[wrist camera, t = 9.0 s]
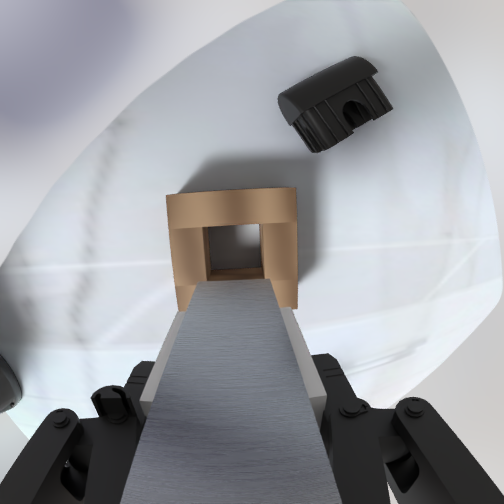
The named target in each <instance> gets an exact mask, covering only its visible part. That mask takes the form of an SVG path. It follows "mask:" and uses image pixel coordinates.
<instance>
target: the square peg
mask: <svg viewBox="0 0 504 504" xmlns="http://www.w3.org/2000/svg"><path fill="white" fill-rule="evenodd" d="M120 504H342V501H341V498H340V494H339V491H338V488H337V485H336V482H335V478H334V475H333V472H332V469H331V466H330V462H329V459H328V456H327V453H326V450H325V447H324V443H323V440H322V437H321V434H320V431H319V428H318V425H317V421H316V418H315V415H314V412H313V409H312V406H311V403H310V400H309V396H308V393H307V390H306V387H305V384H304V381H303V378H302V375H301V372H300V369H299V366H298V363H297V359H296V356H295V353H294V350H293V347H292V344H291V341H290V338H289V335H288V332H287V329H286V326H285V323H284V320H283V317H282V314H281V311H280V308H279V305H278V302H277V299H276V296H275V293H274V290H273V287H272V284H271V281H270V279H250V280H227V281H201V282H198V283H197V285H196V288H195V290H194V293H193V295H192V298H191V300H190V303H189V305H188V308H187V310H186V313H185V315H184V318H183V321H182V323H181V326H180V328H179V331H178V334H177V336H176V339H175V341H174V344H173V347H172V349H171V352H170V355H169V357H168V360H167V363H166V366H165V368H164V371H163V374H162V377H161V379H160V382H159V385H158V388H157V391H156V393H155V396H154V399H153V402H152V405H151V408H150V411H149V414H148V416H147V419H146V422H145V425H144V428H143V431H142V434H141V437H140V440H139V443H138V447H137V450H136V453H135V456H134V459H133V462H132V465H131V469H130V472H129V475H128V478H127V482H126V485H125V488H124V492H123V495H122V498H121V502H120Z"/></svg>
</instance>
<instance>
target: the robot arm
mask: <svg viewBox="0 0 504 504" xmlns="http://www.w3.org/2000/svg"><path fill="white" fill-rule="evenodd" d="M280 311H281V314H282V317H283V320H284V323H285V326H286V329H287V332H288V335H289V338H290V341H291V344H292V347H293V350H294V353H295V356H296V359H297V363H298V366H299V369H300V372H301V375H302V378H303V381H304V384H305V387H306V390H307V393H308V396H309V400H310V403H311V406H312V409H313V412H314V415H315V418H316V421H317V425H318V428H319V431H320V434H321V437H322V440H323V443H324V447H325V450H326V453H327V456H328V459H329V462H330V466H331V469H332V472H333V475H334V478H335V482H336V485H337V488H338V491H339V494H340V498H341V501H342V504H390V497H389V491H388V485H387V482H388V484H389V486H390V488H391V490H392V492H393V493H394V496H395V498H396V500H397V502H398V504H504V495H503V494H502V493H501V491H500V490H499V489H498V487H497V486H496V485H495V484H494V482H493V481H492V480H491V478H490V477H489V476H488V474H487V473H486V472H485V471H484V469H483V468H482V467H481V465H480V464H479V463H478V462H477V460H476V459H475V458H474V457H473V455H472V454H471V453H470V452H469V450H468V449H467V448H466V447H465V445H464V444H463V443H462V442H461V440H460V439H459V438H458V437H457V435H456V434H455V433H454V432H453V431H452V429H451V428H450V427H449V426H448V425H447V423H446V422H445V421H444V420H443V419H442V417H441V416H440V415H439V414H438V413H437V411H436V410H435V409H434V408H433V407H432V405H431V404H430V403H428V402H427V401H426V400H424V399H421V398H418V397H409V398H405V399H403V400H401V401H399V403H398V404H397V405H396V408H395V409H376V408H371V407H370V405H369V404H368V403H367V402H366V401H364V400H362V399H360V398H357V397H356V395H355V393H354V391H353V389H352V387H351V385H350V383H349V382H348V380H347V378H346V376H345V375H344V372H343V370H342V369H341V367H340V365H339V363H338V361H337V359H335V358H334V357H333V356H331V355H330V354H328V353H327V354H319V355H310V352H309V350H308V347H307V345H306V342H305V340H304V338H303V335H302V333H301V330H300V328H299V326H298V323H297V321H296V318H295V316H294V314H293V311H292V309H291V307H283V308H280ZM185 313H186V311H184V312H177V314H176V316H175V318H174V320H173V323H172V325H171V327H170V329H169V332H168V334H167V336H166V338H165V341H164V343H163V345H162V348H161V350H160V352H159V355H158V357H157V359H156V362H153V361H141V362H140V363H139V364H138V365H137V366H135V367H134V368H133V370H132V372H131V374H130V377H129V378H128V380H127V383H126V384H125V386H124V388H123V387H121V386H115V385H111V386H105V387H103V388H100V389H98V390H97V391H96V392H94V393H93V395H92V397H91V400H92V402H93V404H94V406H95V409H96V411H97V413H98V415H99V417H97V418H86V419H79V418H78V416H77V415H76V413H75V412H74V411H72V410H70V409H65V408H62V409H56V410H54V411H52V412H51V413H50V414H49V415H48V416H47V417H46V418H45V419H44V421H43V422H42V423H41V425H40V426H39V428H38V429H37V430H36V432H35V433H34V435H33V436H32V437H31V439H30V440H29V442H28V443H27V445H26V446H25V447H24V449H23V450H22V452H21V453H20V455H19V456H18V458H17V459H16V461H15V462H14V464H13V465H12V467H11V468H10V470H9V471H8V473H7V474H6V476H5V478H4V479H3V481H2V482H1V484H0V504H120V502H121V498H122V495H123V492H124V488H125V485H126V482H127V478H128V475H129V472H130V469H131V465H132V462H133V459H134V456H135V453H136V450H137V447H138V443H139V440H140V437H141V434H142V431H143V428H144V425H145V422H146V419H147V416H148V414H149V411H150V408H151V405H152V402H153V399H154V396H155V393H156V391H157V388H158V385H159V382H160V379H161V377H162V374H163V371H164V368H165V366H166V363H167V360H168V357H169V355H170V352H171V349H172V347H173V344H174V341H175V339H176V336H177V334H178V331H179V328H180V326H181V323H182V321H183V318H184V315H185ZM20 400H21V389H20V386H19V383H18V381H17V379H16V377H15V375H14V373H13V372H12V370H11V369H10V367H9V366H8V364H7V363H6V361H5V360H4V359H3V358H2V356H1V355H0V414H1V413H3V412H5V411H7V410H9V409H11V408H13V407H15V406H16V405H17V404H18V402H19V401H20ZM67 460H68V461H67ZM66 462H67V463H66Z"/></svg>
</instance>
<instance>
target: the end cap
mask: <svg viewBox="0 0 504 504" xmlns="http://www.w3.org/2000/svg"><path fill="white" fill-rule="evenodd" d="M377 72H378V71H377V69H376V68H375V67H374V66H373V65H372V64H371V63H370V62H368V61H367V60H365V59H363V58H361V57H357V56H354V57H350V58H348V59H346V60H344V61H341V62H339V63H337V64H335V65H333V66H331V67H329V68H327V69H325V70H323V71H321V72H319V73H317V74H315V75H313V76H311V77H309V78H307V79H305V80H304V81H302V82H300V83H298V84H296V85H294V86H293V87H291V88H289V89H287V90H285V91H284V92H282V93H280V94H279V95H278V105H279V108H280V110H281V112H282V114H283V116H284V118H285V119H286V121H287V122H288V124H289V125H290V126H291V125H292V126H293V127H294V128H295V130H296V131H297V133H298V134H299V136H300V137H301V138H302V140H303V141H304V143H305V144H306V146H307V147H308V149H309V150H310V151H311V152H312V153H319V152H321V151H323V150H327V149H329V148H331V147H332V146H334V145H336V144H337V143H339V142H340V141H342V140H344V139H345V138H347V137H348V136H350V135H352V134H353V133H354V132H353V131H352V130H353V129H355V128H358V127H359V126H361V125H363V124H364V123H366V122H367V121H369V120H371V119H373V121H374V120H376V119H378V118H379V117H381V116H382V115H384V114H386V113H387V112H389V111H391V110H392V109H393V107H392V105H391V104H390V102H389V101H388V99H387V98H386V96H385V95H384V93H383V92H382V90H381V89H380V87H379V86H378V84H377V83H376V81H375V80H374V79H373V77H372V76H373V75H375V74H376V73H377Z"/></svg>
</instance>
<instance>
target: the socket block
mask: <svg viewBox="0 0 504 504" xmlns="http://www.w3.org/2000/svg"><path fill="white" fill-rule="evenodd" d="M166 203H167V216H168V228H169V238H170V248H171V257H172V266H173V274H174V282H175V289H176V297H177V304H178V310H179V312H184V311H186V310H187V308H188V305H189V303H190V300H191V298H192V295H193V293H194V290H195V288H196V285H197V283H198V282H201V281H227V280H250V279H270V281H271V284H272V287H273V290H274V293H275V296H276V299H277V302H278V305H279V308H283V307H291V309H297V308H298V249H297V202H296V188H292V187H279V188H254V189H234V190H218V191H203V192H191V193H179V194H171V195H166ZM244 224H259V231H260V255H261V267H255V268H238V269H220V270H211V259H210V246H209V233H208V227H210V226H227V225H244Z"/></svg>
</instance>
